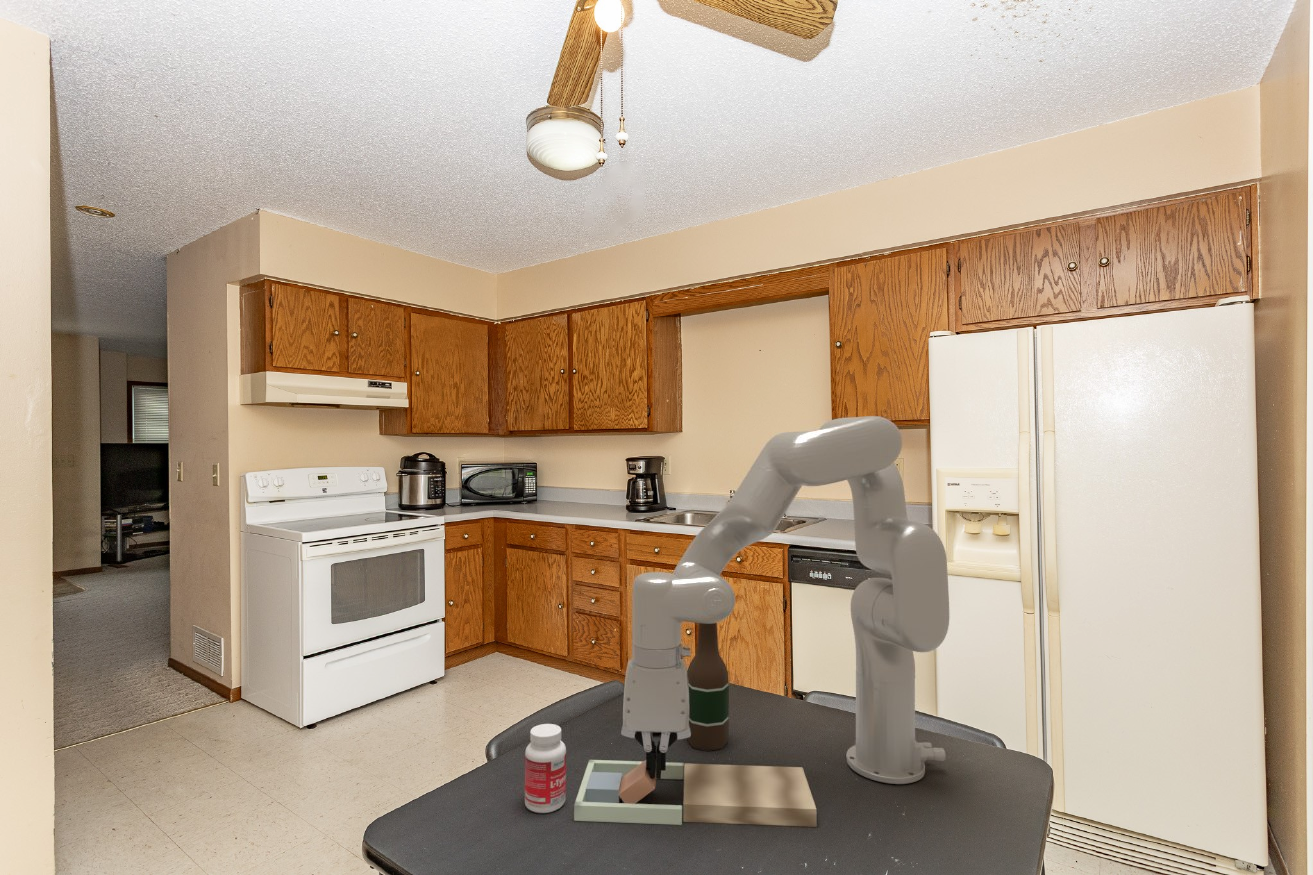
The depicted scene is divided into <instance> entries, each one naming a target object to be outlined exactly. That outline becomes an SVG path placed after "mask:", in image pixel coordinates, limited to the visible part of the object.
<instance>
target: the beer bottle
mask: <svg viewBox="0 0 1313 875" xmlns="http://www.w3.org/2000/svg"><path fill="white" fill-rule="evenodd" d="M697 630H698V632H697V633H698V634H697V647H696V651H695V655H694V656H693V658H692V660H691V661H690V662H689V666H688V668H687V674H688V684H689V725H690V729H691V736H690V737H688V738H686V740H687V742H688V743H689V744H690V745H691V747H692V748H693V749H697V750H700V751H705V752H709V751H717V750H722V749H723V748H724V747H725V746H726V745H727V743H728V742H729V731H730V730H729V729H730V727H729V726H730V724H729V722H730V720H729V719H730V718H729V717H730V708H729V707H730V693H729V692H730V680H729V670H728V669H727V665H726V663H725V662H724V660H723V658H722V657H721V655H720V649H719V640H718V638H719V637H718V622H717V623H712V624H703V623H698V629H697Z"/></svg>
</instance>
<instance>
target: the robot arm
mask: <svg viewBox="0 0 1313 875" xmlns="http://www.w3.org/2000/svg"><path fill="white" fill-rule="evenodd" d="M901 434H902V432H901V431H900V430H899V428H898V426H897V425H896V424H895V423H894V422H893V421H891V420H890V419H888V418H886V417H882V416H878V415H867V416H856V417H855V416H852V417H850V416H849V417H840V418H835V419H831V420H829V421H827V422H825V423H824V424H822V425H821V426H820V428H818V429H817V430H816V429H815V430H808V431H787V432H781V433H777V434H775V435H773V437H771V438H770V439H769V440H768V442H766V443H765V445H764V447H763V448H762V450H761V451H760V452H759V454H758V456H757V458H756V459H755V461H754V462H753V463H752V465H751V467H750V468H749V470H748V472H747V473H746V475H745V477H744V478H743V480H742V481H741V483H740V485H739V486H738V488H737V489H736V491H735V492H734V494H733V496H732V498H731V499H730V500H729V501H728V503H727V505H726V506H725V507H724V508H722V509H721V510H720V511H719V512H718V513H717V514H716V515H715V516H714V517H713V519H712V520H710V521H709V522H708V523H707V524H706V525H704V527H703V528H702V529H701V530H700V531H699V532H698V534H697V535H696V536H695V537H694V538H693V540H692V541H691V542H690V544H689V546H688V547H687V549H686V550H685V552H684V554H683V555H682V556H681V558H680V560H679V562H678V563H677V565H676V566H675V568H674V570H673V572H672V573H670V572H667V571H665V572H664V571H663V572H662V571H651V572H650V571H649V572H643V573H640V574H638V575H637V576H636V577H634V580H633V582H632V627H631V628H632V630H631V631H632V640H631V641H632V645H631V649H632V650H631V652H632V653H631V658H630V659H629V660H628V662H627V666H626V671H625V678H624V688H623V706H622V726H621V732H620V733H621V735H622V736H623V737H627V738H630V739H635V741H636V742H638V743H639V745H640V746H642V747H643V750H644V751H645V756H646V757H645V760H646V770H650V778H651V779H654V778H655V773H656V778H657V779H656V780H662V779H661V770H662V771H665V770H666V762H667V760H666V759H667V755H666V754H667V751H668V749H669V748H670V747H671V746H672V745H673V744H674V743H675V742H676V741H677V740H683V739H687V738H688V737H690V736H691V729H690V725H689V684H688V674H687V670H688V668H687V663H686V661H685V660H684V658H686V657H691V647H688V646H687V647H686V646H684V645H683V644H682V623H694V624H699V623H703V624H712V623H717V624H718V623H720V622H722V621H724V620H726V619H727V618H728V617H730V615H731V614H732V612H733V610H734V609H735V605H736V595H735V591H734V589H733V587H732V586H731V584H730V582H728V580H726V579H725V578H724V577H722V576H721V574H722V573H723V570H724V569H725V567H726V566H727V565H728V564H729V562H731V560H732V559H733V558H734V557H735V556H736V555H737V554H738V553H739V552H740V551H742V550H744V549H745V548H746V547H748V546H751V545H753V544H755V543H757V542H761V541H763V540H764V539H766V538H768V537H769V536H771V535H772V534H773V533H774V532H775V531H776V529H777V528H778V525H779V524H780V523H781V521H782V519H783V518H784V516H785V514H786V512H787V511H788V509H789V508H790V506H791V504H792V502H793V501H794V500H795V498H796V497H797V495H798V493H799V491H800V489H801V488H802V486H804V487H822V486H826V485H830V484H831V485H832V484H836V483H840V482H843V481H847V483H848V485H849V488H850V491H851V496H852V498H851V499H852V504H853V524H854V525H853V526H854V543H855V545H854V546H855V553H856V556H857V559H858V560H859V562H860V563H861V564H862V565H863V566H864V567H866V568H868V569H870V570H872V571H875V572H877V573H880V574H883V575H887V576H889V577H891V579H890V578H886V577H871V578H868V579H865V580H863V581H861V582H860V583H859V584H858V585H857V586H856V588H855V589H854V591H853V593H852V595H851V598H850V617H851V623H852V628H853V634H854V644H855V744H854V745H852V746H851V747H849V748H848V749H847V751H846V758H845V759H846V763H847V765H848V766H849V768H851V770H853V771H854V772H855V773H856V774H858V775H860V776H862V777H865V778H867V779H869V780H873V781H876V782H879V783H884V784H890V785H894V784H895V785H906V784H911V783H915V782H917V781H920V780H921V779H922V778H924V776H925V774H926V765H925V763H926V762H927V760H930V761H932V760H933V761H945V760H946V751H945V748H944V747H933V746H932V743H931V742H925V741H924V742H918V741H917V740H916V728H915V727H916V708H915V707H916V704H915V703H916V662H915V654H914V652H915V653H929V652H932V651H935V650H937V648H939V647H940V646H941V644H943V642H944V641H945V639H946V637H947V634H948V631H949V626H950V593H949V578H948V577H949V574H948V562H947V561H948V559H947V552H946V549H945V546H944V543H943V541H942V539H941V537H940V536H939V535H938V533H937V532H936V531H935V530H934V529H932V528H931V527H930V526H929V525H926V524H924V523H922V522H919V521H915V520H909V518H908V514H907V504H906V495H905V486H904V482H903V479H902V476H901V473H900V471H899V469H898V467H897V466H896V464H895V462H896V460H898V458H899V455H900V454H901V451H902V448H903V438H902V435H901ZM652 732H661V734H660V740H658V741H657V745H656V744H655V741H654V738H653V733H652Z"/></svg>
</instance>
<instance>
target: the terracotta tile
mask: <svg viewBox="0 0 1313 875" xmlns="http://www.w3.org/2000/svg"><path fill="white" fill-rule="evenodd" d="M656 780H657V779H656V773H655V778H654V779H651V778H650V770H646V759H645V760H644V761H642V763H641V764H640V765H638V766H637V767H636V768H634V769H633V770H632V771H630V772H629V773H628V774H626V775H625V776H624V777H622V781H621V785H620V790H619V796H620V800H621V801H622V803H628V804H638V802H640V801H641V800H642V799H644V798H645V797H646V796H647V795H648V794H650V793H651V792H653V791H654V790H655V789H656V783H657V781H656Z"/></svg>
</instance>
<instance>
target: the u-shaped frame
mask: <svg viewBox="0 0 1313 875" xmlns="http://www.w3.org/2000/svg"><path fill="white" fill-rule="evenodd" d="M642 762H643V761H640V760H639V761H635V760H633V761H632V760H612V759H611V760H608V759H607V760H606V759H605V760H603V759H588V763H587V765H586V768H585V770H584V775H583V778H582V780H581V783H580V786H579V789H578V793H577V795H576V799H575V802H574V805H573V821H575V822H576V821H577V822H596V823H597V822H601V823H604V822H605V823H624V824H626V823H627V824H650V825H651V824H653V825H671V826H672V825H676V826H683V805H681V804H679V805H678V804H677V805H676V804H655V803H654V804H653V803H652V804H648V803H635V804H628V803H624V802H622V803H621V802H619V803H601V802H586V787H587V783H588V780H589V777H590V774H591V772H608V773H622V777H624V776H625V775H626V774H628V773H629V772H630V771H632V770H633V769H634V768H636V767H637V766H638V765H640V764H641V763H642ZM663 779H664V780H684V762H667V761H666V770H665V771H662V770H661V779H660V780H663ZM656 780H658V779H657V778H656Z"/></svg>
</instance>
